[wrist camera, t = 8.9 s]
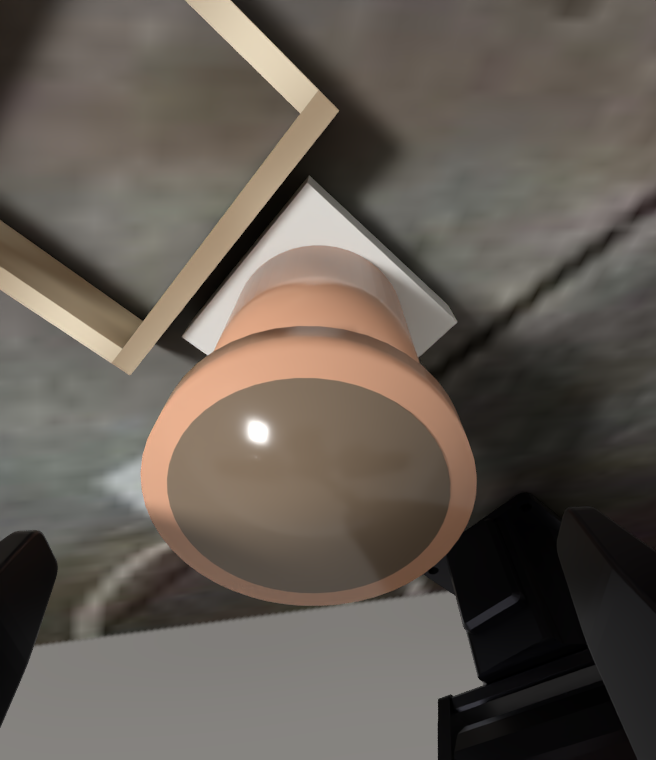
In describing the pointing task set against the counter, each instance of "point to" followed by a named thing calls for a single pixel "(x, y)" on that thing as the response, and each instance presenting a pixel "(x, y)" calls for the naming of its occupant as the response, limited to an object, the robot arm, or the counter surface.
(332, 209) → the stone tile
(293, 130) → the beige square frame
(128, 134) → the counter surface
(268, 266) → the terracotta pot
